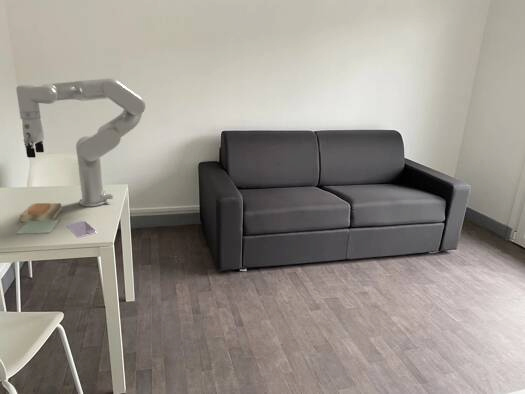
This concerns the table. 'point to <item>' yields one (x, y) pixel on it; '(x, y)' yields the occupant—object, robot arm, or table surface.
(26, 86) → the robot arm
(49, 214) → the plate
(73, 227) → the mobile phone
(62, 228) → the table surface
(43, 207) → the tile
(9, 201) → the table surface
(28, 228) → the mat
